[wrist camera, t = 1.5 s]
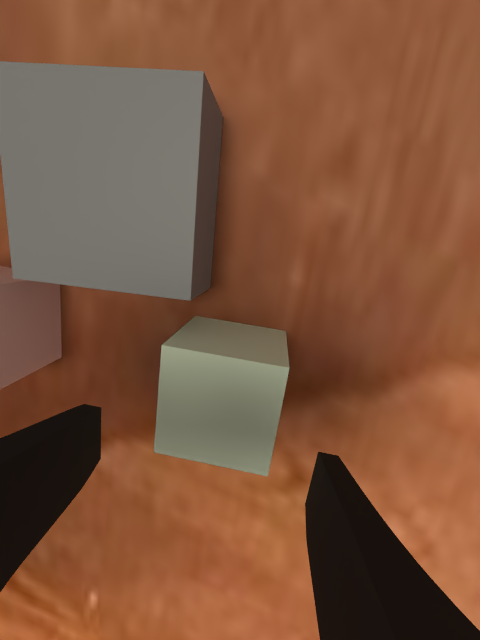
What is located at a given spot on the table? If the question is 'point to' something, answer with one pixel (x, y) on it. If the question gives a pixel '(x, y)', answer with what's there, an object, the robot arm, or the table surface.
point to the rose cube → (27, 326)
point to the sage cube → (221, 394)
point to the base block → (110, 176)
